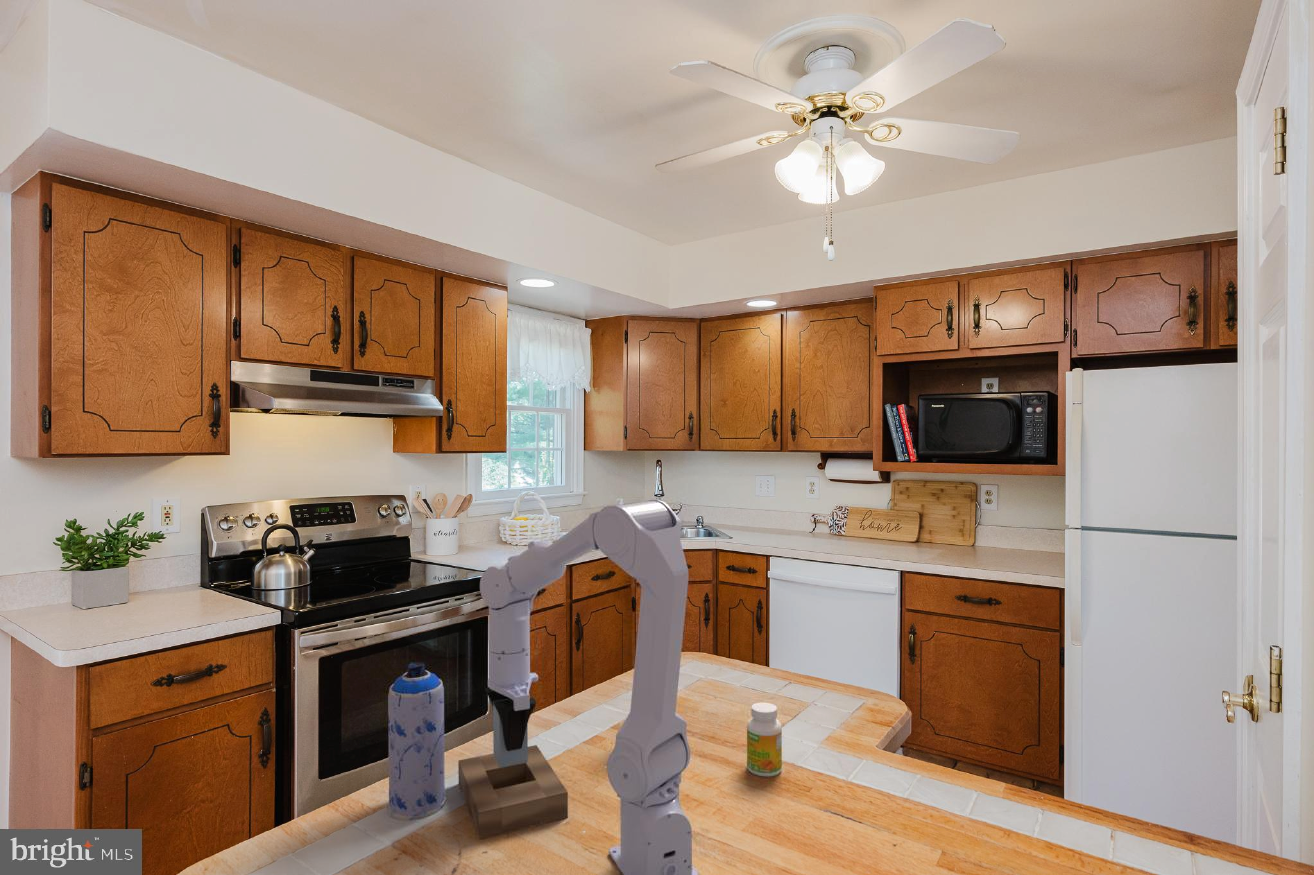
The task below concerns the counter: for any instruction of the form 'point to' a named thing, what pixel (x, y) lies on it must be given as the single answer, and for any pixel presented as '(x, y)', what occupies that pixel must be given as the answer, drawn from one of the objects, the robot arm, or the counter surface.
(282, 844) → the counter surface
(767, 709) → the supplement bottle
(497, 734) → the slate peg
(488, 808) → the walnut socket holder
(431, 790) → the aerosol can
